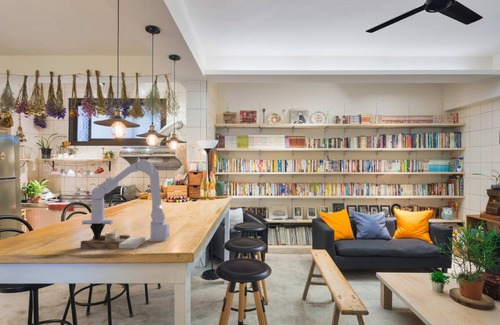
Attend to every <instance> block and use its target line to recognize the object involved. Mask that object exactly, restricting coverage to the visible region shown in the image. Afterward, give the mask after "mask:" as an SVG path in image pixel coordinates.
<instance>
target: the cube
mask: <svg viewBox="0 0 500 325" xmlns="http://www.w3.org/2000/svg"><path fill="white" fill-rule="evenodd" d="M104 235H105V241H118V240H120V235H121V231H113V230H112V231H108V232H106V233H105V234H104Z"/></svg>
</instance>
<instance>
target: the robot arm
mask: <svg viewBox="0 0 500 325" xmlns="http://www.w3.org/2000/svg"><path fill="white" fill-rule="evenodd" d="M138 171H139V172H142V173H145V175H147V176H148V177H149V182H150V184H149V185H150V196H151V205H152V206H151V209H152V210H151V212H150V213H151V214H150V218H151V219H152V220H151V221H150V238H149V239H147V241H148V242H166V241H167V240H168V239H169V238H170V223H169V222H165V218H166V217H165V213H164V212H163V211H164V210H163V207H162V200H161V199H162V198H161V197H162V195H161V186H160V175H159V171H158V169H157V168H156V167H155V166H154V164H152V162H150V161H149V160H147V159H146V158H144V159H138V161H136V162H134V163H132V164H130V165H129V166H127V167H126V168H125V169H123V170H122V171H121V172H119V173H118V174H117V175H115V176H109V177H106V178H105V180H104V181H103V182H102V183H100V184H97V185H96V186H97V187H95V188H93V189H92V190H91V193H90V196H91V209H90V211H91V216H90V218H91V219H83V220H81V225H82V226H83V225H89V228H90V229H91V231H92V233H93V236H94V237H95V239H100V235H102V232H103V229H104V227H105V226H106V225H111V226H112V225H114V219H105V195H106V194H109V193H110V192H112V191H113V190H114V189H115V188H117V187H118V186H119V182H121V181H122V180H124V179H125V178H126V177H127V176H129V175H130V174H132V173H136V172H138Z"/></svg>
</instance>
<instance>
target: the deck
mask: <svg viewBox="0 0 500 325" xmlns="http://www.w3.org/2000/svg"><path fill="white" fill-rule="evenodd" d="M145 242H146V237H145V236H144V237H139V236H138V237H137V236H136V237H131V235H130V234H120V240H118V241H105V234H104V235H103V234H101V235H100V239H95V237H94V235H92V238H90V239H89V240H81V241H80V249H137V248H139V247H140V246H141V245H142V244H144V243H145Z"/></svg>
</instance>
